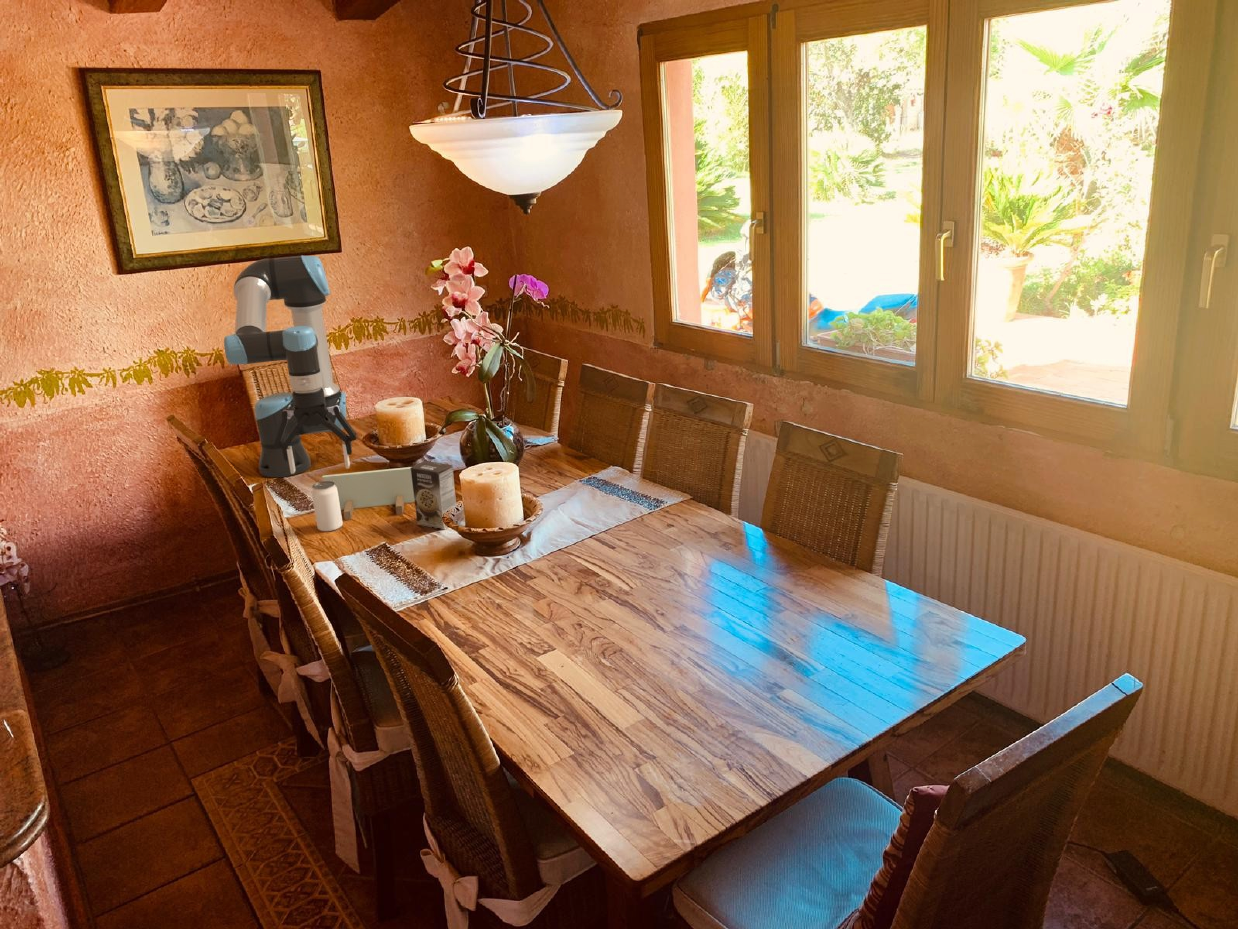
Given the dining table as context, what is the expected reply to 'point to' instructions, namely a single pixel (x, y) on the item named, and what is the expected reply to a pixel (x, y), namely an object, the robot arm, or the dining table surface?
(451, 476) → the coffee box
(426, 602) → the dining table surface
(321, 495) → the can
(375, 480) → the wall board
